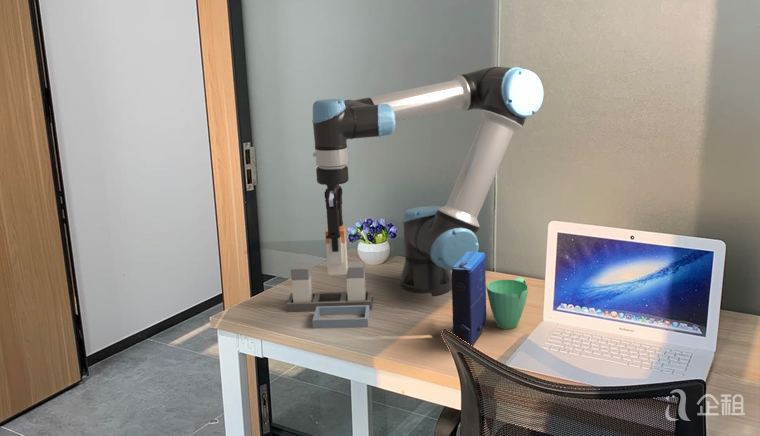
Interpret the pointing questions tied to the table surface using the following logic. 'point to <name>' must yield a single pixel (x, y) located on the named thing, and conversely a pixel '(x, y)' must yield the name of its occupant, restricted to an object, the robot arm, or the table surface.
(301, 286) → the block
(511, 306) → the mug
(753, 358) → the table surface
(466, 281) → the book
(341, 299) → the block
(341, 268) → the block
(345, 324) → the tray
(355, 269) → the block
